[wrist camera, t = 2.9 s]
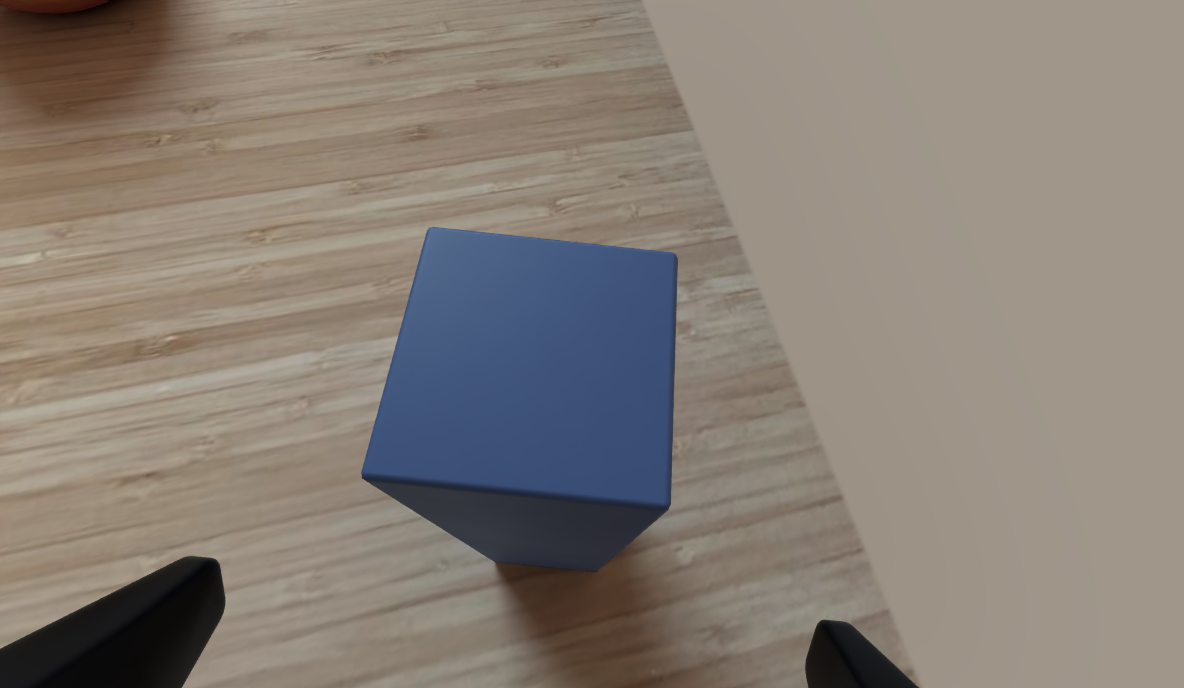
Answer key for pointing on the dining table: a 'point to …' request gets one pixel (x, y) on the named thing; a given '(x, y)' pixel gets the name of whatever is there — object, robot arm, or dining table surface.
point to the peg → (532, 396)
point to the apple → (51, 5)
